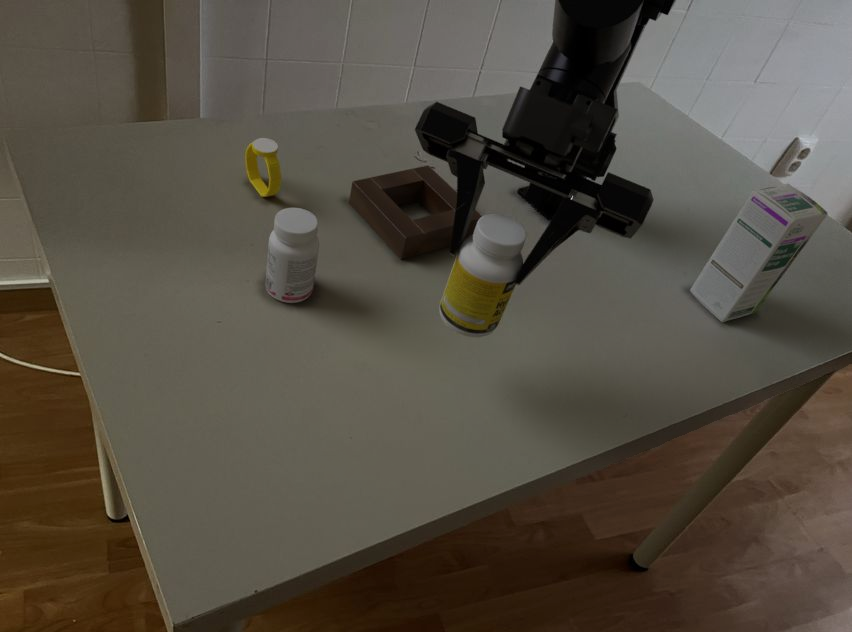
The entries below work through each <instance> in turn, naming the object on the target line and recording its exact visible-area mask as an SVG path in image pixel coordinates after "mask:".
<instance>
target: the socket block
mask: <svg viewBox="0 0 852 632" xmlns="http://www.w3.org/2000/svg"><path fill="white" fill-rule="evenodd" d="M416 202H419V203H420V204H421V205H422V206H423V207H424V208H425V210H427V211H428V212H429V214H430V215H427V216H424V217H423V216H422V217H419V218H414V219H411V218H410V217H409V216H408V214H406V213H405V212H404V210H402V208H401V207H399V206H403V205H408V204H411V203H416ZM456 202H457V190H455V189H454V188H453V187H452V186H451V185H450V184H449V183H447V181H446V180H445V179H444V178H443V177H442V176H441V175H439V174H438V173H437V172H436V171H435V170H434V169H433V168H432V167H431V166H430V165H424V166H419V167H413V168H409V169H404V170H399V171H394V172H389V173H386V174H380V175H375V176H371V177H365V178H361V179H357V180H352V182H351V187H350V193H349V199H348V203H349V205H350V206H351V207H352V209H354V211H356V212H357V214H358V215H359V216H360V217H361V218H362V220H364V222H365V223H366V224H367V225H368V226H369V227H370V228H371V229H372V230H373V231H374V232H375V234H376V235H377V236H378V237H379V238H380V239H381V240H382V242H384V243H385V245H386V246H387V247H388V248H389V249H390V250H391V251H392V252H393V253H394V255H395V256H397V258H398V259H399V260H401V261H402V260H404V259H408V258H412V257H415V256H418V255H423V254H425V253H426V254H427V253H429V252H432V251H437V250H440V249H443V248H446V247H450V245H451V238H452V231H453V224H454V217H455V210H456ZM482 216H483V215H481V214H480V213H479V211H477V210H476V209H475V211H474V214H473V216H472V219H471V222H470V224H469V227H468V230H467V232H466V235H465V238H464V240H465V239H466V238H467V237H469V236H471V235H473V233H474V230H475V227H476V225H477V222H478V220H479V219H480V218H481V217H482ZM464 240H463V241H464Z"/></svg>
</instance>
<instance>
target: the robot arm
mask: <svg viewBox="0 0 852 632" xmlns="http://www.w3.org/2000/svg"><path fill="white" fill-rule="evenodd" d="M676 2H677V0H555V1H554V8H553V17H552V18H553V20H552V31H551V37H552V43H551V45H550V47H549V49H548V51H547V53H546V54H545V55H546V56H545V58H544V59H543V62H542V63H541V66H540V68H539V70H538V72H537V74H536V76H535V78H534V80H533V82H532V84H531V86H530V88H529V89H528V88H526V87H523V86H519V88H518V90H517V93H516V96H515V97H514V100H513V102H512V105H511V108H510V110H509V112H508V115H507V117H506V120H505V121H504V123H503V124H504V125H503V126H502V129H501V133H502V134H501V135H502V138H503V139H505V141H504V143H501V142H499V141H496V140H494V139H492V138H489V137H487V136H485V135H483V134H480V133H478V126H477V120H476V116H472V115H470V114H468V113H465V112H463V111H461V110H458V109H456V108H453V107H451V106H448V105H446V104H443V103H442V102H438V101H435V102H434V103H432V104H430V105H428V106H427V107H426V108H424V110H423V111H422V114H421V115H420V117H419V119H418V122H417V123H416V125H415V128H414V131H415V134H416V136H417V139H418V141H419V144H420V146H421V149H422V151H423V152H425V153H426V154H427V155H429V156H432V157H434V158H436V159H439V160H442V161H443V162H445V163H447V164H448V167H449V169H450V173H451V174H452V175H453V176H454V177H456V192H457V202H456V210H455V217H454V224H453V231H452V238H451V245H450V246H449V255H450V256H453V257H456V256H457V253H458V250H459V247H460V245H461V243H462V242H463V240H464V238H465V235H466V232H467V230H468V227H469V224H470V222H471V219H472V216H473V214H474V211H475V210H476V209H477V206H478V203H479V200H480V198H481V195H482V192H483V189H484V187H485V184H486V181H485V174H484V170H487V168H488V166H490V167H492V168H495V169H498V170H499V171H501V172H504V173H506V174H509V175H511V176H513V177H516V178H519V179H521V180H523V181H526V182H528V183H529V185H525V186H522V187H519V188H518V189H517V192H516V193H517V194H518V195H519V196H520V197H521V198H522V199H524V201H525V202H527V203H528V204H529V205H530V206H531V207H532V208H534V209H535V210H536V211H537V212H538V213H539V214H540V215H541V216H543V217H544V218H545V219H546V220H548V221H549V223H548V225H547V226H546V228H545V229H544V231H543V232H542V234H541V236H540V237H539V239H538V240H537V242H536V244H534V246H533V248H532V249H531V251H530V253H529V254H528V256H527V257H526V258H525V260H524V261H523V265H522V267H521V270H520V272H519V274H518V276H517V278H516V280H515V284H516V285H517V286H521V284H522V283H523V282H524V281H525V280H526V279H527V278H528V277H529V276H530V275H531V274H532V273H533V272H534V271H535V270H536V269H537V267H539V265H540V264H542V262H544V261H545V259H546V258H547V257H548V256H549V255H550V254H551V253H553V252H554V250H556V249H557V248H558V247H559V246H561V245H562V244H563V243H564V242H566V240H569V238H570V237H572V236H573V235H574V234H576V233H577V232H578V231H582V232H583V233H587V234H592V232H593V230H594V228H595V227H598V228H601V229H603V230H605V231H608V232H610V233H613V234H615V235H617V236H620V237H622V238H626V239H632V238H633V237H634V236H635V234H636V233H637V232H638V231H639V229H640V228H641V227H642V226H643V224H644V222H645V220H646V219H647V216H648V214H649V211H650V210H651V208H652V205H653V203H654V196H653V193H652V190H651V188H649V187H646V186H643V185H641V184H639V183H636V182H633V181H631V180H628V179H627V178H624V177H621V176H620V175H619V176H618V175H616V174H614V173H611V172H608V169H609V167H610V165H611V162H612V161H613V159H614V156H615V154H616V152H617V149H618V148H617V145H616V141H617V140H616V137H617V135H618V134H617V133H615V132H613V130H614V129H615V126H616V124H617V121H618V119H619V116H620V115H619V103H618V91H617V90H618V88H619V86H620V84H621V81H622V79H623V77H624V74H625V72H626V70H627V68H628V66H629V63H631V60H632V57H633V55H634V52H635V51H636V49H637V47H638V44H639V42H640V40H641V38H642V35H643V34H644V31H645V29H646V27H647V25H648V23H649V22H650V20H652V21H655V22H657V20H658V19H659V18H660V17H661V16H662V15H665V16H669V14H670V12H671V11H672V9H673V7H674V6H675V4H676ZM597 178H604V179H603V181H602V183H598V182H596V180H597Z"/></svg>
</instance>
